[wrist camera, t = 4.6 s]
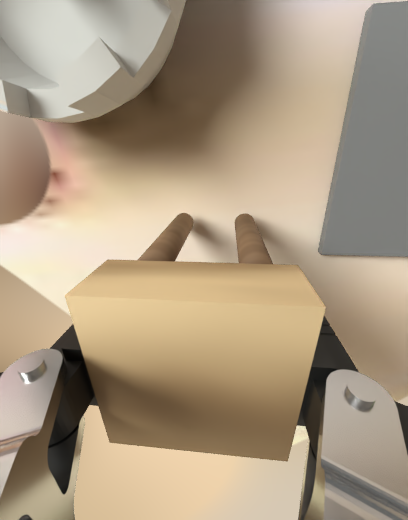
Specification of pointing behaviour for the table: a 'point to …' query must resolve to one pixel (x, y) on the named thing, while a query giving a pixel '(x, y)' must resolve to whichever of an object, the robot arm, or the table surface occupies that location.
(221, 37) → the table surface
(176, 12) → the flag stand
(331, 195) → the mat
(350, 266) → the table surface
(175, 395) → the stool
